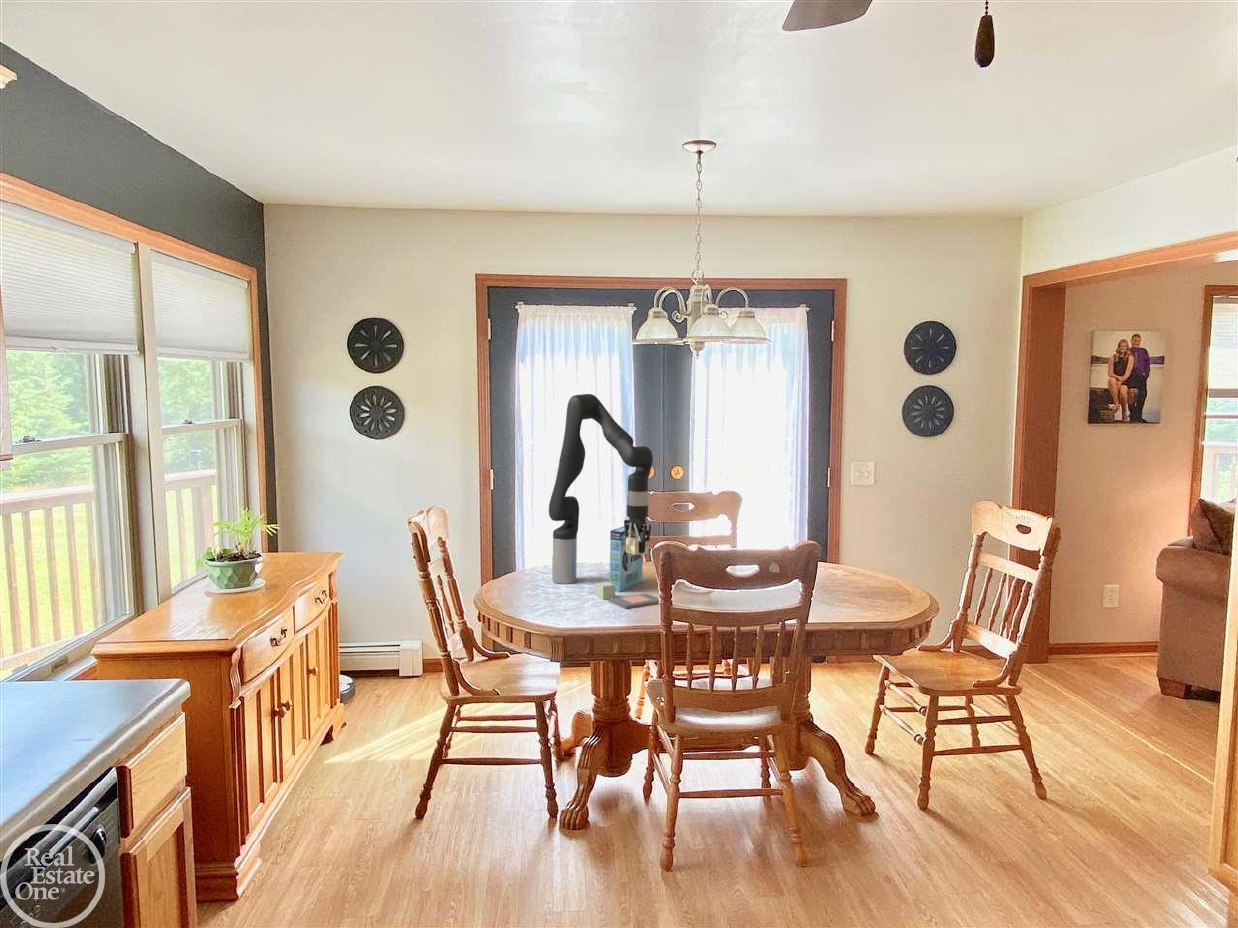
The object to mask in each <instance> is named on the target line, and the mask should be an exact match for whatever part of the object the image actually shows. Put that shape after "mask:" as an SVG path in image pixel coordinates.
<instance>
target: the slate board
mask: <svg viewBox="0 0 1238 928" xmlns="http://www.w3.org/2000/svg"><path fill="white" fill-rule="evenodd" d="M658 598H659V597H656V596H654V595H652V594H649V593H639V594H633V595H627V596H626V595H625V596H620V597H615V598H612V599H608V603H610V604H613V605H615V604H616V605H615V606H617V607H620V608H622V609H624V610H627V609H629V610H630V609H634V608H633V607H635V608H641V607H646V606H647V605H648V606H652V605H653V604H654V605H659V604H658V602H659V600H658ZM640 606H641V607H640Z"/></svg>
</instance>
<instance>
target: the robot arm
mask: <svg viewBox="0 0 1238 928" xmlns="http://www.w3.org/2000/svg"><path fill="white" fill-rule="evenodd" d="M566 407H567V408H566V415H565V429H564V434H563V441H562V447H561V451H560V456H559V461H558V469H557V474H556V479H555V483H554V487H553V489H552V493H551V497H550V499H549V504H548V515H549V518H550V519H551V521H554V522H562V521H564V522H563V523H562V525H561V526H559V527H557V528H556V529H554V530H553V532H552V567H551V568H552V570H551V573H552V574H551V575H552V576H551V577H552V579H551V580H552V582H553V583H556V584H562V585H563V584H565V585H566V584H567V585H568V584H573V583H576V582H577V570H578V569H577V567H578V566H577V563H578V562H577V560H578V559H577V552H578V551H577V549H578V547H577V544H578V542H577V541H578V531H579V522H580V521H579V520H580V519H579V518H580V504H579V501H578V500H579V499H577V497H576V496H573V495H572V496H571V495H570V496H569V495H568V496H566V495H567V492H568V490H569V489H570V487H571V485H572V484H573V483H574V482H575V481H576V480H577V478H578V477H579V475H580V474H581V473H582V470H584V469H583V468H584V464H585V459H586V448H585V445H584V442H583V440H582V437H581V428H582V427H581V426H582V423H583V421H584V420H590V419H592V420H594V421H595V422H596V423H597V424H599V426H600V427H601V429H602V434H603V437H604V438H605V440H606V441H607V443H609V444H610V445H611V446H612V447H613V449H615V451H617V453H618V455H619V456H620V458H621V460H622V461H623V463H624V464H626V465H627V466H628V467H631V468H635V469H634V471H633V473H631V474H629V475H628V478H627V495H626V517H627V518H628V519H624V520H623V526H624V528H625V536H626V537H628V538H633V537H636V536H638V540H639V553H644V552H645V542H646V541H648V542H649V541H650V537H651V532H652V531H651V530H652V525H651V524H647V522H646V518H648V517H649V492H648V491H649V477H650V474H651V469H652V466H653V460H654V459H653V458H654V457H653V452H652V450H651V449H650V448H649V446H646V445H645V446H643V445H641V446H634V438H633V437H632V436H631V435H630V434H629V433H628V432H627V431H626V430H625V429H623V427H621V426H620V425H619V423H618V422H616V420H615V419H614V418H613V416H612V415H611V414H610V413H609V411H608V410H607V409H606V407H605V406H604V405H603V403H602V402H601V400H600V399H599V398H598V397H597V396H596V395H594V394H592V393H583V394H582V393H581V394H576V395H572V396H571V397H570V398H569V400H568V402H567V406H566ZM642 532H643V533H642ZM641 536H642V539H641Z"/></svg>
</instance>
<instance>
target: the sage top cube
mask: <svg viewBox="0 0 1238 928" xmlns="http://www.w3.org/2000/svg"><path fill="white" fill-rule="evenodd" d="M595 597H596V598H597V597H598V599H599V598H600V600H602V599H603V600H602V601H605V600H604V599H607V600H609V599H611V598H616V591H615V585H614V584H612V583H609V582H608V581H606V582H597V583H596V584H595Z"/></svg>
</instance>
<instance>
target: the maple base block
mask: <svg viewBox="0 0 1238 928" xmlns="http://www.w3.org/2000/svg"><path fill="white" fill-rule="evenodd" d="M641 539H642V538H641ZM648 544H649V541H646V542H645V552H644V553H639V540H638V537H633V538H626V552H627V553H630V554H633V555H639V554H643V555H648V552H649V551H648V550H649V547H648Z"/></svg>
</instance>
